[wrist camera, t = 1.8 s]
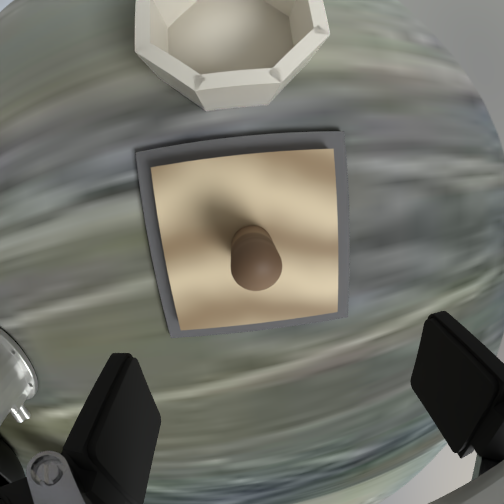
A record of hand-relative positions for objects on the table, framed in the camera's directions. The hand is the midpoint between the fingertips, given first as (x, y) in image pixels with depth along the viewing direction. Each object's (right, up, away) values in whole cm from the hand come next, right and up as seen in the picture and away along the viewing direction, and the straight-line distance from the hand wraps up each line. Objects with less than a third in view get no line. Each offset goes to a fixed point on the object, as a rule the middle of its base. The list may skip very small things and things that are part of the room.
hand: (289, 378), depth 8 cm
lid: (-1, +5, +16) cm, 17 cm away
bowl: (-3, +21, +11) cm, 24 cm away
